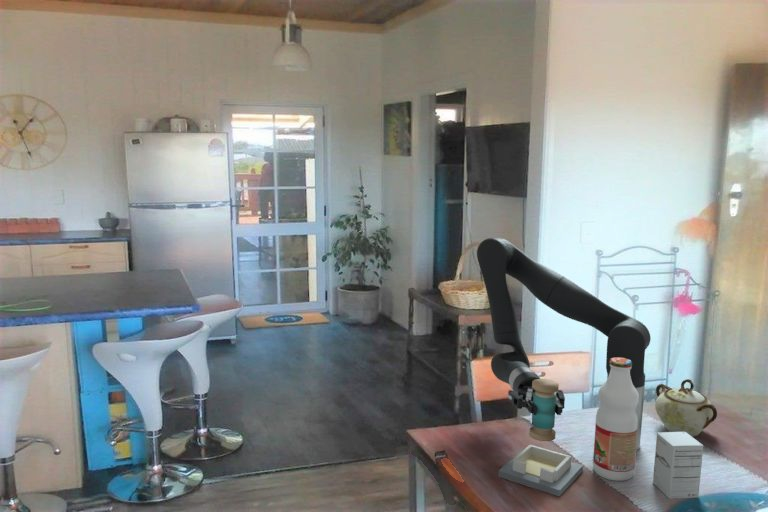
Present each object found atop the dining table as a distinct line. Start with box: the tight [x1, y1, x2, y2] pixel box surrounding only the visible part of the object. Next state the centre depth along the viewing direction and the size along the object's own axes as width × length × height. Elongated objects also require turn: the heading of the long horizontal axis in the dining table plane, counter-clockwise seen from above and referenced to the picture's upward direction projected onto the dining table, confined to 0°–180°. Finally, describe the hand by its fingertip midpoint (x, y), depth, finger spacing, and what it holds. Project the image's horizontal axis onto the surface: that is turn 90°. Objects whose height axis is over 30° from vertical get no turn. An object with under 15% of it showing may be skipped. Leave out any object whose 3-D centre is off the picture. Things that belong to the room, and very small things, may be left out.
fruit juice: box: [592, 357, 639, 482], centre depth 154 cm, size 9×9×28 cm
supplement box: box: [652, 431, 704, 499], centre depth 147 cm, size 7×7×13 cm
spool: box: [528, 378, 560, 442], centre depth 152 cm, size 6×6×13 cm
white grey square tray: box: [497, 444, 584, 497], centre depth 154 cm, size 15×15×4 cm
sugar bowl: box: [654, 378, 718, 437], centre depth 180 cm, size 20×15×15 cm
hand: (547, 411), depth 150 cm, fingers closed on spool, 5 cm apart
